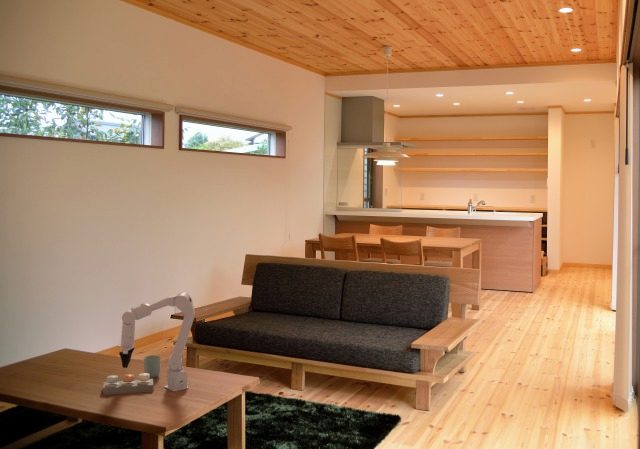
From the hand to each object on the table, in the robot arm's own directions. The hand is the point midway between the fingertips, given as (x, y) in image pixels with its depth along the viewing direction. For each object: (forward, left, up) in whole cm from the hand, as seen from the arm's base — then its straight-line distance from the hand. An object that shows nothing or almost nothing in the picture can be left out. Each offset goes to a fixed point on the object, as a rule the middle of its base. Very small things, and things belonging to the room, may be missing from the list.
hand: (126, 365), depth 313 cm
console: (-2, 0, -11) cm, 11 cm away
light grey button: (+1, +6, -7) cm, 9 cm away
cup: (+9, -18, -11) cm, 23 cm away
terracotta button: (-2, 0, -7) cm, 7 cm away
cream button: (-6, -6, -7) cm, 11 cm away
